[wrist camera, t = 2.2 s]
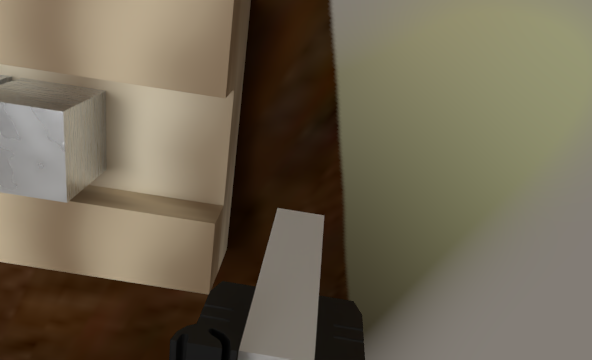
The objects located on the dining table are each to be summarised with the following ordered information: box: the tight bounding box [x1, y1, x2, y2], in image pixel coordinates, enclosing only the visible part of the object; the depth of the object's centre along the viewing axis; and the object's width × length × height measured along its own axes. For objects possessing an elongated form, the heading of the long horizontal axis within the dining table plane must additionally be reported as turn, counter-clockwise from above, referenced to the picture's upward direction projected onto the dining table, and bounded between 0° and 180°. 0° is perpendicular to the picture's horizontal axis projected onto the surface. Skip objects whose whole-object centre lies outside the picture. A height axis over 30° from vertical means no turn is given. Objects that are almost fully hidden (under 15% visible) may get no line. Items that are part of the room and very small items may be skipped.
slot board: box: [0, 0, 251, 294], centre depth 24 cm, size 16×14×4 cm
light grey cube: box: [0, 78, 107, 203], centre depth 22 cm, size 4×4×4 cm
